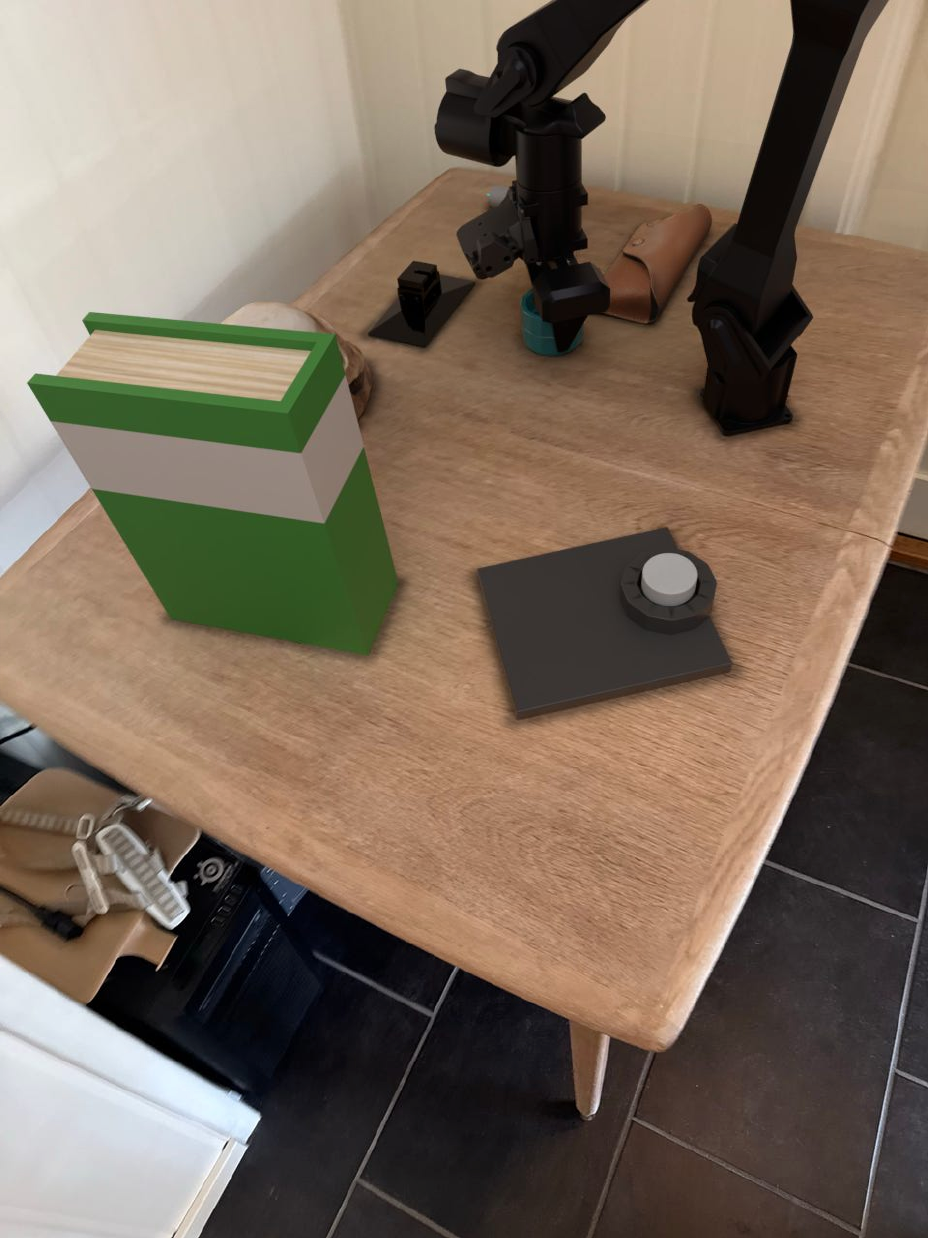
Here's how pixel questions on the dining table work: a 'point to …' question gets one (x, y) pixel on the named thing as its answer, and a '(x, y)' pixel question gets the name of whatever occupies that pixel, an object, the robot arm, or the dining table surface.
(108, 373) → the hardback book
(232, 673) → the dining table surface
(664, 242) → the sunglasses case
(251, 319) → the coin bank
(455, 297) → the build plate
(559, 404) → the dining table surface
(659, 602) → the button
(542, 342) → the bowl
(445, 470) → the dining table surface
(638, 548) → the dark grey button base
